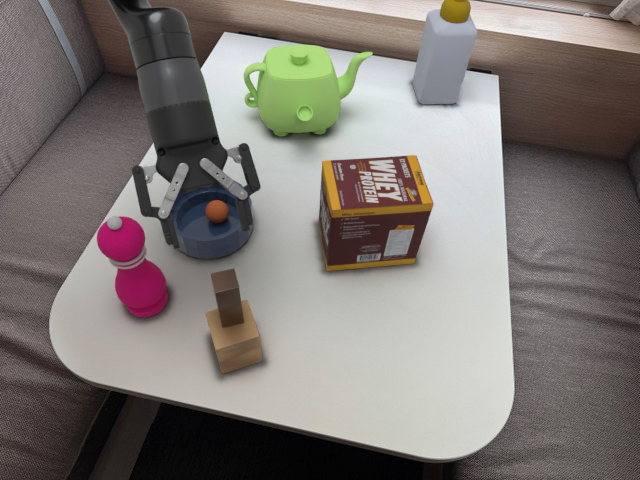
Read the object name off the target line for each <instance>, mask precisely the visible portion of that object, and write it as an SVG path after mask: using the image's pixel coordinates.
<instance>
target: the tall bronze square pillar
mask: <svg viewBox="0 0 640 480" xmlns="http://www.w3.org/2000/svg"><path fill="white" fill-rule="evenodd" d="M210 278H211V282H212V287H213V292H214V297H215V301H216V305H217V306H216V307H217V309H218V310H219V315H220V319H221V324H222V328H225V327H229V326H233V325H238V324H242V323H244V317H243V310H242V303H241V302H242V298H241V290H240V285H239V281H238V278H237V273H236V270H235V268H234V267H233V268H229V269H225V270H220V271H216V272H215V271H214V272H211V273H210Z"/></svg>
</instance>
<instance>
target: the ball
mask: <svg viewBox="0 0 640 480" xmlns="http://www.w3.org/2000/svg"><path fill="white" fill-rule="evenodd" d="M205 214H206V217H207V218H208V220H209V221H211V222H213V223H222V222H224V221H225V220H226V219H227V217H228V215H229V209H228V206H227V205H226V204H225V203H224V202H223V201H220V200H214V201H211V202H210V203H209V204H208V205H207V207H206V209H205Z"/></svg>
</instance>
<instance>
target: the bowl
mask: <svg viewBox="0 0 640 480" xmlns="http://www.w3.org/2000/svg"><path fill="white" fill-rule="evenodd" d="M234 181H235V182H236V183H237V184H238V185H239V186H241V187H244V186H243V185H242V183H240V182H238V181H236V180H234ZM174 190H175V189H173V191H174ZM214 200H220V201H223V202H224V203H225V204H226V205H227V206H228V209H229V215H228V217H227V219H226V220H225V221H224V222H222V223H213V222H211V221H209V220H208V218H207V217H206V214H205V209H206V207H207V205H208V204H209V203H210V202H211V201H214ZM236 201H237V200H236V197H235V196H234V195H233V194H231V193H230V192H229V191H228V190H226V189H225V188H224V187H222V186H221V185H220V184H219V183H217V184H216V185H215V186H213V187H211V188H199V189H197V190H195V191H193V192H189V193H185V192H181V191H179V193H178V195H177V197H176V200H175V202H174V204H173V206H172V209H171V211H170V213H169V214H170V217H172V219H173V223H174V227H175V230H176V234H177V238H178V242H179V245H180V248H177V250H179V251H180V252H181V253H184V254H185V255H187V256H189V257H193V258H197V259H201V260H202V259H218V258H221V257H226V256H228V255H231V254H232V253H234V252H236V251H238V250H240V249H241V248H242V247H243V246H244V244H246V243H247V241H248V240H249V239H250V236H251V234H252V233H253V229H254V223H253V224H252V225H249V228H250V230H248V231H243V230H242V227H241V223H240V219H239V215H238V211H237V207H236V203H235V202H236ZM248 202H249V206H250V210H251V214H252V218H253V219H254V212H253V204H252V203H253V201H252V198H251V195H250V196H249V199H248Z"/></svg>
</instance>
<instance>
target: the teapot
mask: <svg viewBox="0 0 640 480" xmlns="http://www.w3.org/2000/svg"><path fill="white" fill-rule="evenodd" d="M373 54H374V53H373V51H363V52H360V53H357V54H356V55H354V56H353V57H352V58H351V60H350V62H349V64H348V66H347V69H346V71H345V72H344V74H342V75H341V76H339V77H338V76H337V74H336V73H337V72H336V69H335V66H334V64H333V60H332V58H331V56H330V53H329V51H328V50H327V48H325V47H323V46H320V45H313V44H288V45H279V46H275V47H272V48H269V49H268V50H267V51H266V53H265V55H264V56H263V60H262V61H261V62H259V61H257V62H253V63H251V64H249V65H248V66H247V67H246V68H245V69H244V72H243V81H244V84H245V86H246V88H247V90H248V91H249V92H248V93H246V94H245V96H244V104H245V105H246V106H247V107H249V108H252V109H253V108H254V109H255V108H257V110H258V114H259V117H260V119H261V121H262V122H263V124H264V125H265V126H266V127H267V128H268V129H269V130H272V131H273V134H274V135H275V136H278V137H286V136H288V135H289V134H290V133H292V134H293V133H295V134H302V133H311V132H312V133H313V134H316V135H324V134H325V133H326V132H327V129H329V128H331V127H332V126H333V125H334V124H335V123H336V122H337V121H338V119H339V118H340V115H341V108H342V107H341V100H343V99H345V98H347V96H348V95H350V93H351V92H352V90H353V89H354V86H355V83H356V78H357V75H358V72H359V68H360V67H361V65H362V63H363V62H364V61H365V60H367V59H368V58H370V57H371V56H372V55H373ZM255 72H258V77H257V84H256V85H257V86H256V87H255V86H254V84H253V82H252V80H251V77H250V75H251V74H253V73H255ZM251 98H253V99H251Z"/></svg>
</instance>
